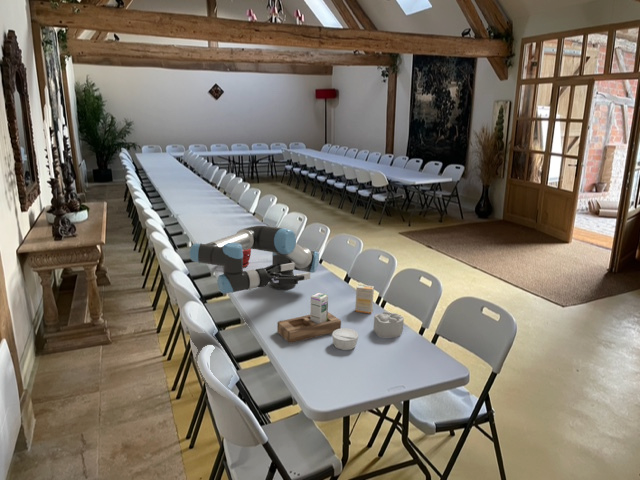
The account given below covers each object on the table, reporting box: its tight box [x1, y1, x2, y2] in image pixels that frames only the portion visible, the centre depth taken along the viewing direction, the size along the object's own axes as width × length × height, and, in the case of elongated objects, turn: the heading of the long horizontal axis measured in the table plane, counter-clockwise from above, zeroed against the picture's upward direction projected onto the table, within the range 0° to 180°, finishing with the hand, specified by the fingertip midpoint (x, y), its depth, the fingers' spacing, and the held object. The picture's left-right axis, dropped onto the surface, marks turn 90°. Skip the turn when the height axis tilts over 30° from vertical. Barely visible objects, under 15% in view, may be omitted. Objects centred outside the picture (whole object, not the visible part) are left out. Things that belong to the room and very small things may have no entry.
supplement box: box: [355, 284, 375, 315], centre depth 235 cm, size 8×5×13 cm, turn 74°
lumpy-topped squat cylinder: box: [372, 310, 405, 339], centre depth 214 cm, size 10×13×9 cm
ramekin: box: [331, 327, 359, 351], centre depth 201 cm, size 11×11×5 cm
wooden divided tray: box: [276, 311, 342, 344], centre depth 212 cm, size 12×26×5 cm, turn 122°
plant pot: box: [242, 249, 252, 268], centre depth 296 cm, size 13×13×12 cm
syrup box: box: [309, 292, 329, 324], centre depth 213 cm, size 6×6×14 cm
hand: (301, 270), depth 202 cm, fingers open, 13 cm apart
